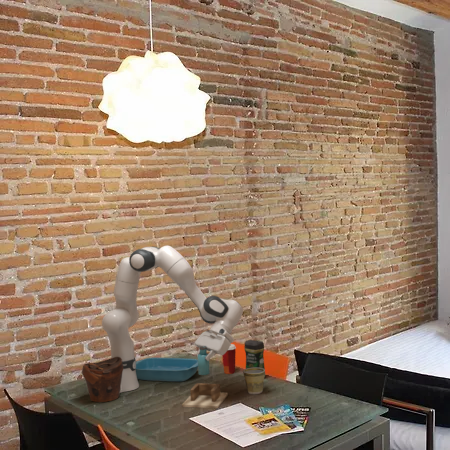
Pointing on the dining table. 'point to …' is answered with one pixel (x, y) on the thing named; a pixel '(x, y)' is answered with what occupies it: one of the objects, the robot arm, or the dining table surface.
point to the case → (103, 379)
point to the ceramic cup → (254, 379)
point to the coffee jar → (254, 354)
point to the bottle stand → (205, 396)
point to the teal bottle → (203, 362)
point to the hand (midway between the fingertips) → (202, 358)
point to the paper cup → (229, 360)
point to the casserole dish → (166, 369)
